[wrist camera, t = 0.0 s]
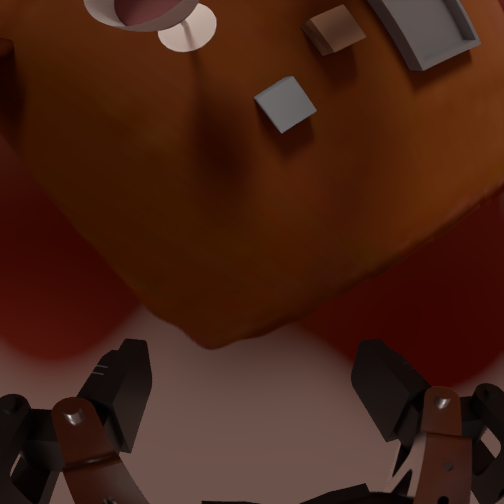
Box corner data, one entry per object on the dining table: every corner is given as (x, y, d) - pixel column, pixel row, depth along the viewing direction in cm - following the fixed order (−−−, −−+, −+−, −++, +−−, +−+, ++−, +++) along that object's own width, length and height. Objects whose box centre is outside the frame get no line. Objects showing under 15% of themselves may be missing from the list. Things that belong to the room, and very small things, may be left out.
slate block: (253, 97, 32) (256, 99, 28) (285, 77, 31) (292, 75, 26) (275, 127, 34) (281, 133, 30) (306, 107, 33) (316, 110, 29)
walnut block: (300, 26, 26) (310, 18, 22) (330, 12, 25) (343, 4, 21) (322, 56, 29) (334, 52, 25) (350, 41, 27) (366, 37, 23)
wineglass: (164, 64, 28) (93, 47, 12) (150, 10, 24) (77, -40, 7) (225, 46, 28) (214, 0, 11) (210, -8, 23) (188, -85, 6)
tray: (350, -20, 21) (360, -28, 19) (420, -37, 17) (432, -42, 14) (409, 70, 29) (423, 70, 26) (467, 43, 24) (481, 44, 22)
